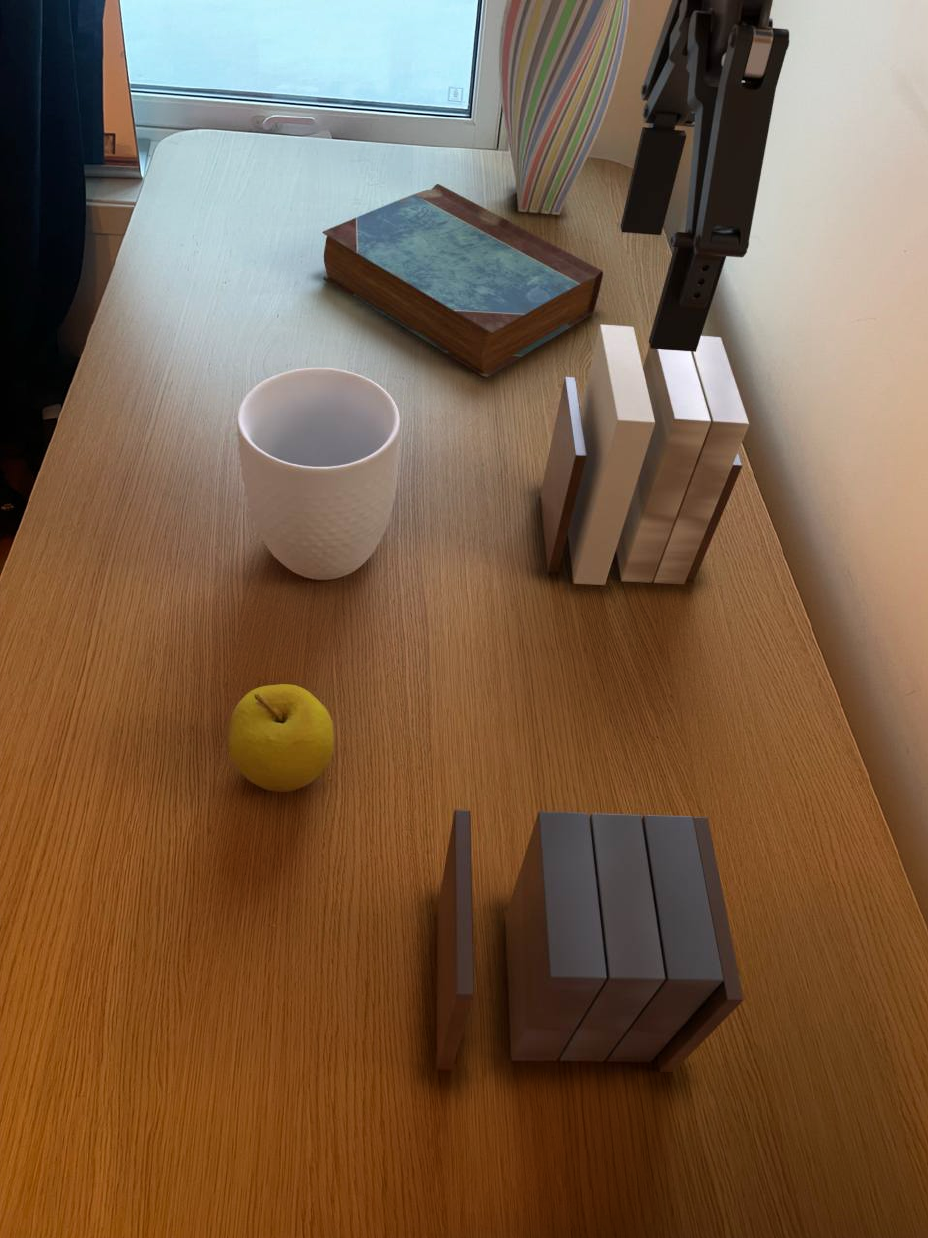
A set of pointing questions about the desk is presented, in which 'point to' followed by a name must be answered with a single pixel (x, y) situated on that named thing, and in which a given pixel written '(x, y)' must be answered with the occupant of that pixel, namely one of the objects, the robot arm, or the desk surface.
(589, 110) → the vase
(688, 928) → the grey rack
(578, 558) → the cream book
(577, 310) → the book
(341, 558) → the mug
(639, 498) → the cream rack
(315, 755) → the apple
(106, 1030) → the desk surface
